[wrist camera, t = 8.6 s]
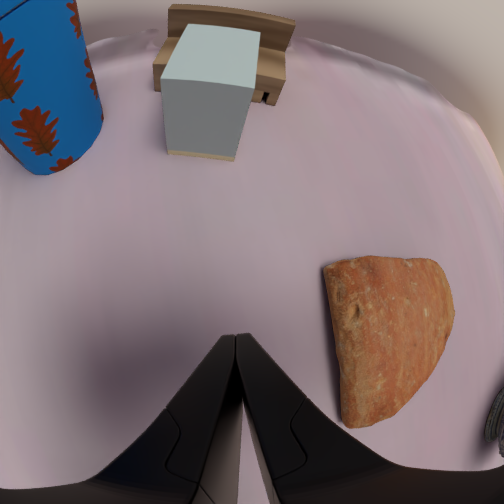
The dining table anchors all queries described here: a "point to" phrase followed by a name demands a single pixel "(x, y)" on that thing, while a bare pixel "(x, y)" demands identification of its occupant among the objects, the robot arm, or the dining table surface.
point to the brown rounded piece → (386, 331)
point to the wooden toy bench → (270, 27)
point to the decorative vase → (496, 422)
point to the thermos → (46, 85)
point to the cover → (209, 90)
